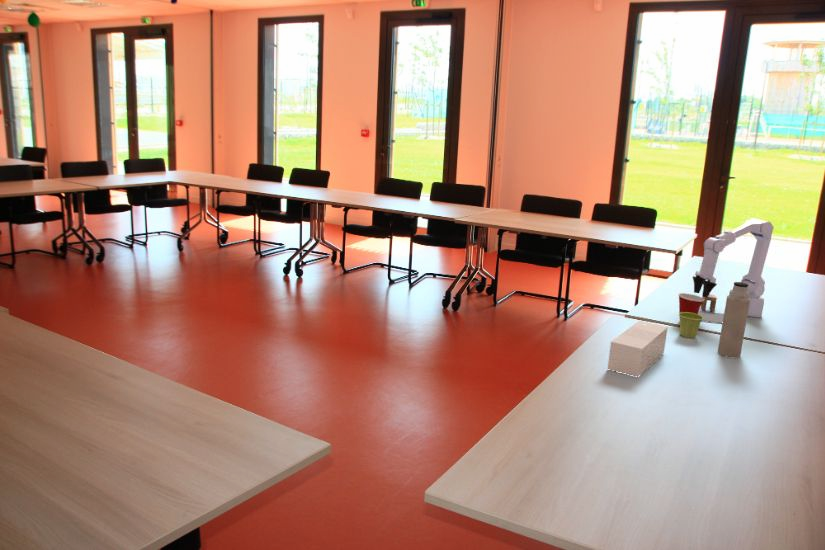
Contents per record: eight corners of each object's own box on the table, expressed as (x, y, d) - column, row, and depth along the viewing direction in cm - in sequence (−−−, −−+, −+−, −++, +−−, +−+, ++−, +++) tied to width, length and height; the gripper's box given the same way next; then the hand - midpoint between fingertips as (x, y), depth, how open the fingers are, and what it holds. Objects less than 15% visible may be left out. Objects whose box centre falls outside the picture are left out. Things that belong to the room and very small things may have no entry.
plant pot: (700, 334, 285) (703, 314, 283) (699, 341, 277) (702, 320, 275) (676, 330, 289) (679, 310, 287) (674, 336, 281) (677, 316, 278)
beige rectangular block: (637, 378, 235) (642, 348, 232) (607, 370, 240) (610, 341, 238) (663, 354, 260) (667, 326, 258) (635, 347, 266) (639, 320, 263)
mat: (728, 314, 316) (728, 314, 316) (736, 325, 301) (736, 324, 301) (691, 311, 319) (691, 310, 319) (697, 321, 304) (698, 320, 304)
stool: (712, 308, 326) (714, 295, 324) (714, 311, 321) (716, 297, 319) (700, 307, 327) (702, 293, 325) (702, 310, 322) (704, 296, 320)
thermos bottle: (716, 349, 268) (728, 279, 262) (739, 352, 266) (751, 282, 259) (718, 355, 261) (730, 284, 254) (741, 359, 259) (754, 286, 252)
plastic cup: (704, 327, 296) (709, 300, 293) (679, 325, 296) (683, 298, 293) (695, 319, 307) (699, 293, 304) (670, 318, 307) (674, 291, 304)
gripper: (692, 260, 311) (684, 289, 313) (708, 267, 296) (700, 297, 299) (706, 263, 311) (699, 292, 314) (723, 269, 297) (715, 299, 300)
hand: (700, 294), depth 307 cm, fingers open, 7 cm apart
